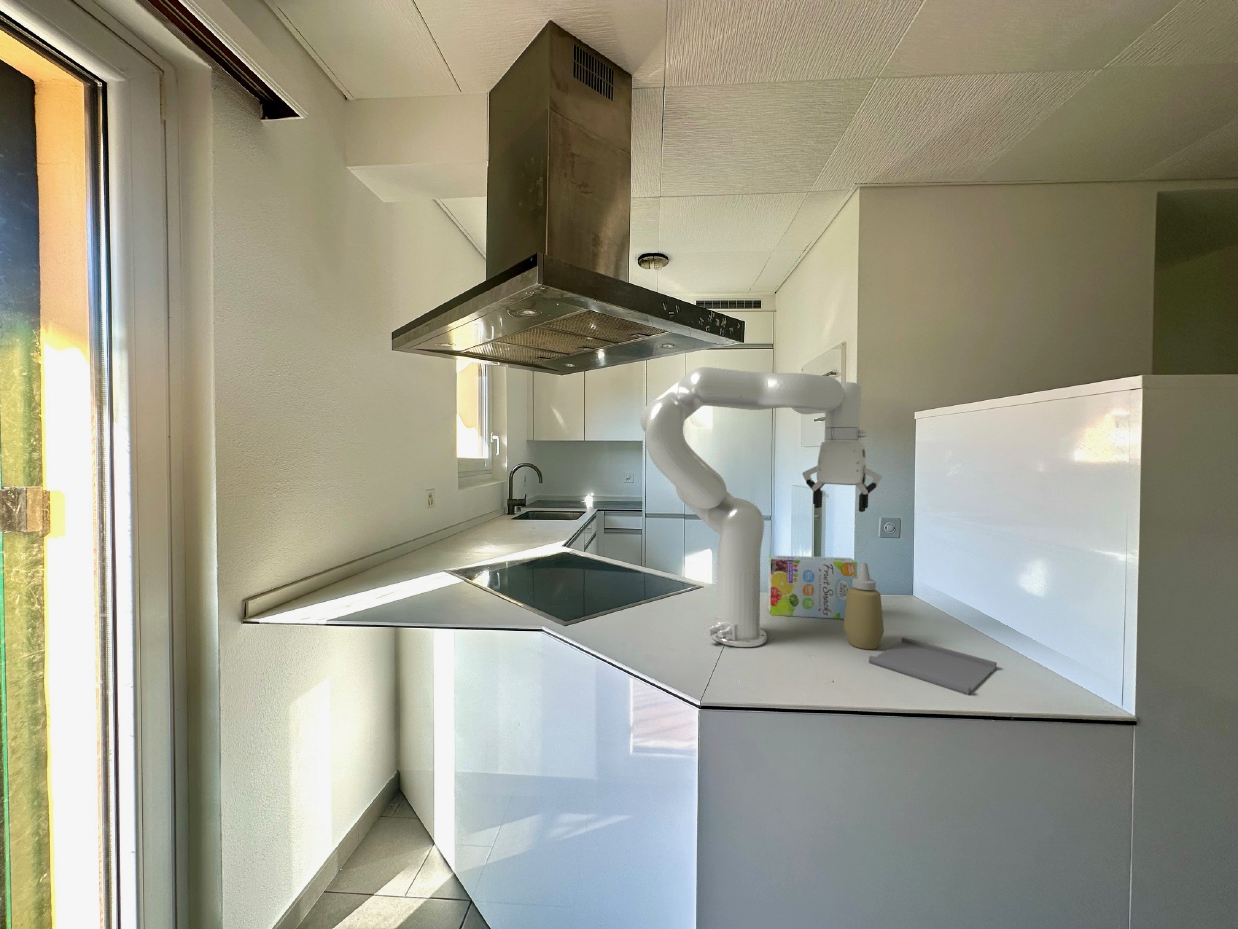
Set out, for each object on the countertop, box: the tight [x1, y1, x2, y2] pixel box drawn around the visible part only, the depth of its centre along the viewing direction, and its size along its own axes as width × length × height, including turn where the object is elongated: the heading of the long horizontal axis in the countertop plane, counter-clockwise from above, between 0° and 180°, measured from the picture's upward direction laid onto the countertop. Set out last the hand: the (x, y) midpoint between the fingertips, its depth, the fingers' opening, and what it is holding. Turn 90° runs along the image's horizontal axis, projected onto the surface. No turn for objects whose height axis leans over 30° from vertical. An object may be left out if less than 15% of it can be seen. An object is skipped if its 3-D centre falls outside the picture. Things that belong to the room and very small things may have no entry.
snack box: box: [767, 554, 858, 620], centre depth 128 cm, size 21×6×15 cm, turn 80°
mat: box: [868, 636, 998, 696], centre depth 98 cm, size 17×17×1 cm
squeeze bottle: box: [842, 562, 885, 650], centre depth 108 cm, size 8×8×18 cm
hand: (839, 509), depth 115 cm, fingers open, 9 cm apart
